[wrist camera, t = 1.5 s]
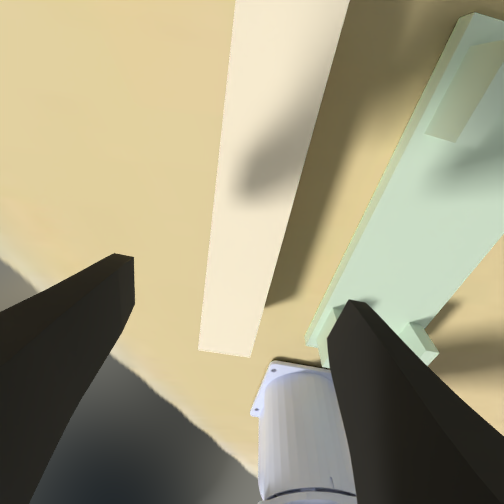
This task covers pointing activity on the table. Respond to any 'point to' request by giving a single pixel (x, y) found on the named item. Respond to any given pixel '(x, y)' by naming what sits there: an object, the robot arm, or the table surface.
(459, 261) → the strip rack
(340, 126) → the table surface
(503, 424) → the table surface
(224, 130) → the clay strip
